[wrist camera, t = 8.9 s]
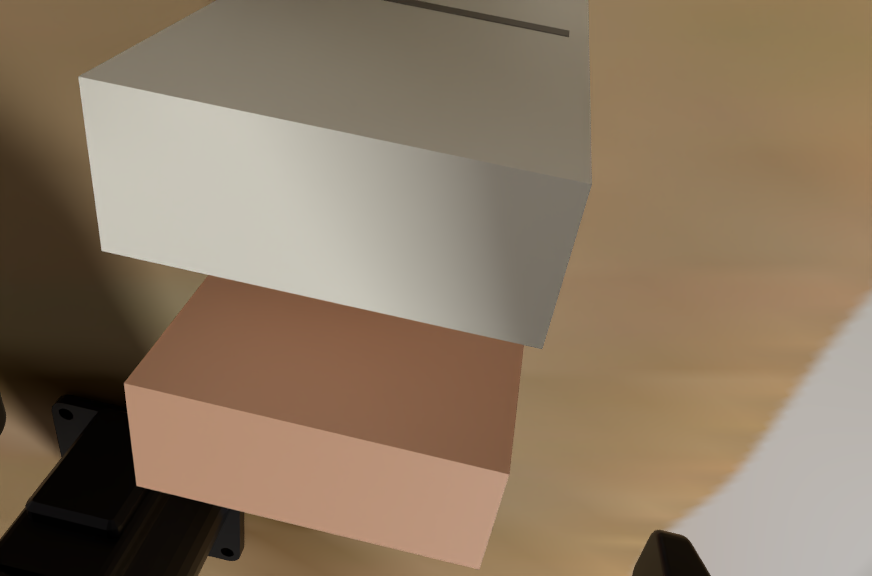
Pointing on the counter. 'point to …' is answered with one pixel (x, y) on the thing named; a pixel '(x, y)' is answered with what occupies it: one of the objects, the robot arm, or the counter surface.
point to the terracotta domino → (328, 418)
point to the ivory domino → (355, 153)
